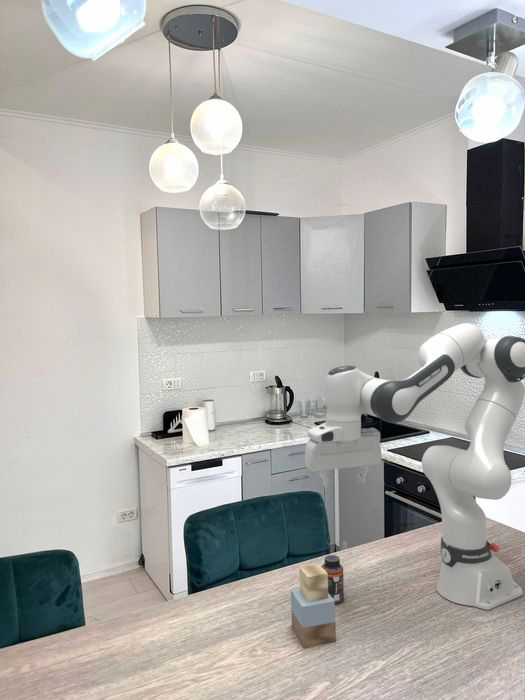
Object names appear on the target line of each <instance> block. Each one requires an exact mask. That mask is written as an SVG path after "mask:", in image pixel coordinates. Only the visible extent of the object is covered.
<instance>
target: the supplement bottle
mask: <svg viewBox="0 0 525 700" xmlns="http://www.w3.org/2000/svg"><path fill="white" fill-rule="evenodd" d="M323 562H324V563H323V564H322V565H321V567H322V568H323V569H324V570H325V571H326V572H327V573H328V593H329V595H330V596H331V597H332V598H333V600H334V601H335V605H337V604H340V603H342V602H343V601H344V598H345V597H344V596H345V595H344V594H345V593H344V590H345V589H344V588H345V587H344V567H343V565H342V564H341V561H340V557H339V556H338V555H334V554H328V555H326V556H325V557H324V561H323Z"/></svg>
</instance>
